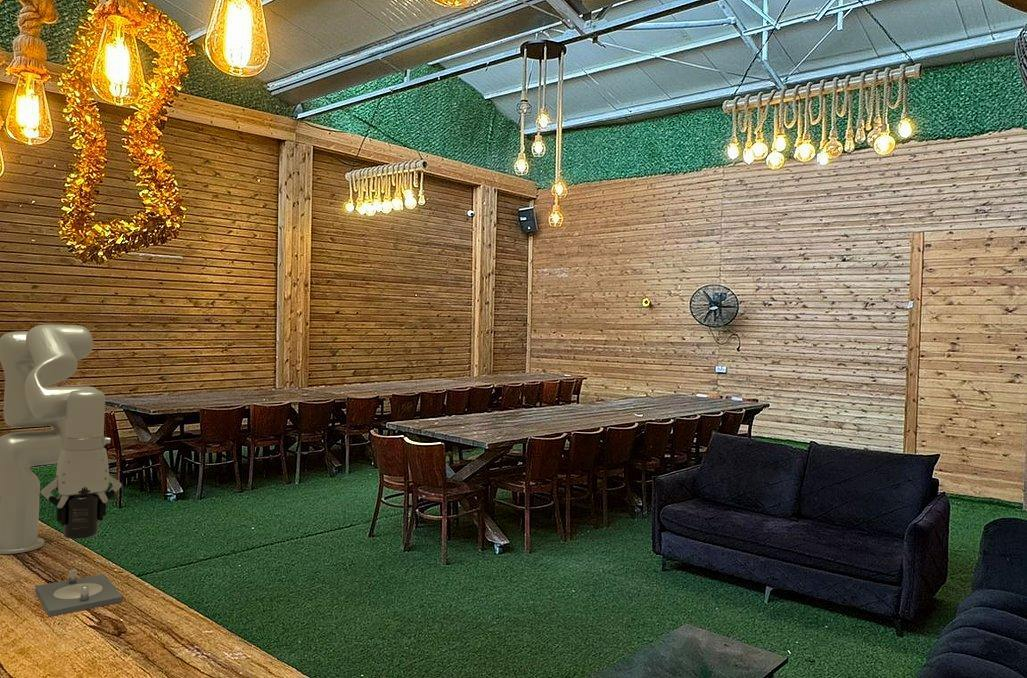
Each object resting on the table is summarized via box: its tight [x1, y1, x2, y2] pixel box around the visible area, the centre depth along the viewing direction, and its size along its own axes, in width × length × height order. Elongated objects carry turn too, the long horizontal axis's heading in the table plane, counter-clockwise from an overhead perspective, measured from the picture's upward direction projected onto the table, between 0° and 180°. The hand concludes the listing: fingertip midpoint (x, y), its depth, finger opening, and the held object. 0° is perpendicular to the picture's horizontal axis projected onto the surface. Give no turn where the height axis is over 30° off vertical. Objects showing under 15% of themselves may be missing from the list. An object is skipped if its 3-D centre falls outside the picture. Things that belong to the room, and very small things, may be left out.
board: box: [34, 568, 123, 618], centre depth 161 cm, size 18×14×4 cm
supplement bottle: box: [63, 487, 100, 540], centre depth 161 cm, size 7×7×12 cm
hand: (81, 521), depth 161 cm, fingers closed on supplement bottle, 6 cm apart
